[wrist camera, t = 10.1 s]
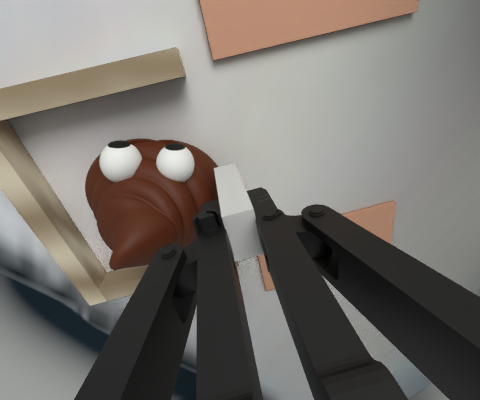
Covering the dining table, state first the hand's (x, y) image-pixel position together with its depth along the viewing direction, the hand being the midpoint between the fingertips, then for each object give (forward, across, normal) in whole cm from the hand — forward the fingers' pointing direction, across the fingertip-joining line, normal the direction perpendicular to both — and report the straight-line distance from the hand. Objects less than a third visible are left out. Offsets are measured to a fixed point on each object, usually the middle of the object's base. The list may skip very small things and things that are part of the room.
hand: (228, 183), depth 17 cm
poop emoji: (+3, +5, 0) cm, 6 cm away
